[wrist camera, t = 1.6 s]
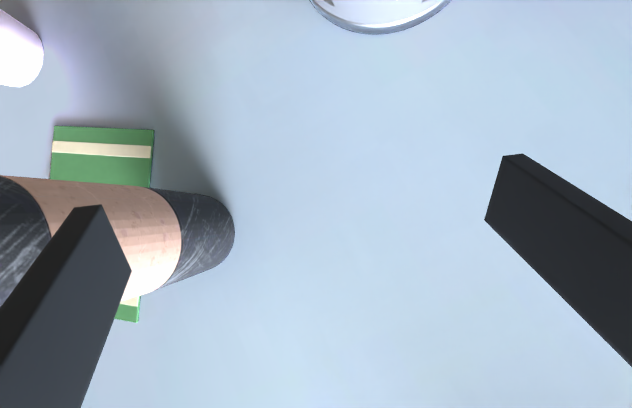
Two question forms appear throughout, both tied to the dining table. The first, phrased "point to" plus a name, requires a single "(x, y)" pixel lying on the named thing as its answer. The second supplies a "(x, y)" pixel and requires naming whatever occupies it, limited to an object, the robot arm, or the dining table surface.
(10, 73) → the mushroom
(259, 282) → the dining table surface
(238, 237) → the dining table surface
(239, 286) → the dining table surface
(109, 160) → the cloth
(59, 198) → the travel mug
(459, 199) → the dining table surface
